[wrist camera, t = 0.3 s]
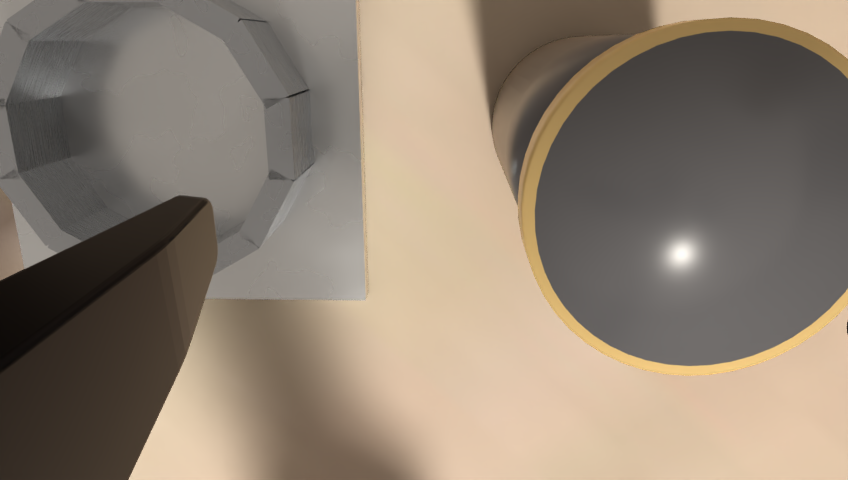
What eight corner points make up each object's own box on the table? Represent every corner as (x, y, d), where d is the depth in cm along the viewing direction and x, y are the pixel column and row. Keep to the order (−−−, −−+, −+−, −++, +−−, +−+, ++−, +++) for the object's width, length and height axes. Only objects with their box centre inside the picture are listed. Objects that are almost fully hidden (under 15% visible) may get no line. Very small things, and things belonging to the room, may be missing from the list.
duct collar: (368, 292, 26) (354, 334, 22) (42, 289, 26) (-24, 329, 22) (356, -73, 22) (337, -96, 18) (-25, -69, 22) (-117, -90, 19)
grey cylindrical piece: (568, 245, 25) (679, 437, 13) (449, 124, 24) (448, 209, 12) (705, 124, 23) (975, 212, 11) (584, -12, 22) (742, -74, 10)
